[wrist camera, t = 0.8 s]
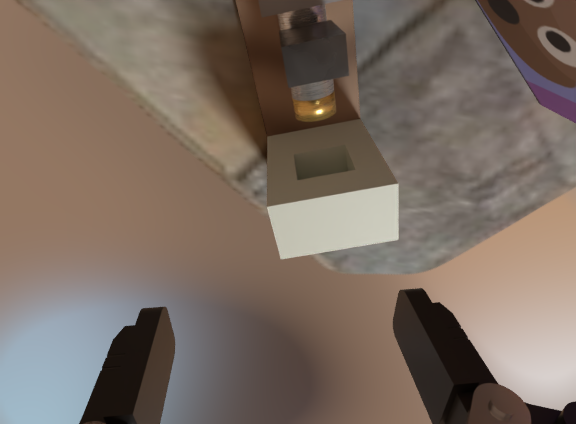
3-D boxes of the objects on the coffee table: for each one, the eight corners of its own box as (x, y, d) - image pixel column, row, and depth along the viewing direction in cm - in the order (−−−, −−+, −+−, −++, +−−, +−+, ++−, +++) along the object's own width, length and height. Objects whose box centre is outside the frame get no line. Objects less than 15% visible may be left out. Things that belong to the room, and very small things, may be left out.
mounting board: (200, -158, 23) (161, -226, 15) (336, -192, 23) (377, -284, 14) (280, 187, 39) (283, 251, 30) (362, 172, 38) (389, 233, 30)
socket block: (267, 136, 34) (267, 206, 24) (360, 118, 34) (398, 183, 24) (277, 180, 37) (280, 259, 27) (363, 164, 36) (398, 239, 27)
